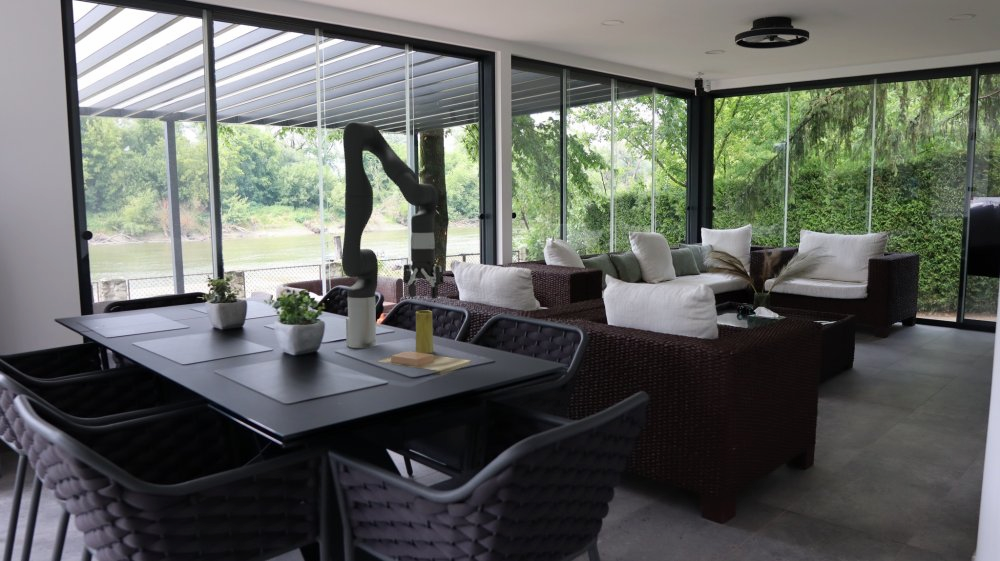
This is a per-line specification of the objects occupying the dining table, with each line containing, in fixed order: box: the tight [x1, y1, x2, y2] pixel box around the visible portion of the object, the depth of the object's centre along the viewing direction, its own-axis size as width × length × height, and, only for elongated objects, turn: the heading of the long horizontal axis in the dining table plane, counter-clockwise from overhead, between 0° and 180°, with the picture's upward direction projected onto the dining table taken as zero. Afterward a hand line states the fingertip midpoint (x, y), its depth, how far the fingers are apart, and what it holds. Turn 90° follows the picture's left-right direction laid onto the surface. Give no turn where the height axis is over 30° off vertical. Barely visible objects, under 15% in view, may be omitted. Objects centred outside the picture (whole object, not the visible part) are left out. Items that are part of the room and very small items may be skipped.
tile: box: [390, 350, 435, 366], centre depth 220 cm, size 2×8×10 cm
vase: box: [415, 310, 435, 354], centre depth 234 cm, size 6×6×14 cm
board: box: [375, 355, 472, 376], centre depth 221 cm, size 24×16×1 cm, turn 59°
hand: (423, 297), depth 233 cm, fingers open, 8 cm apart
